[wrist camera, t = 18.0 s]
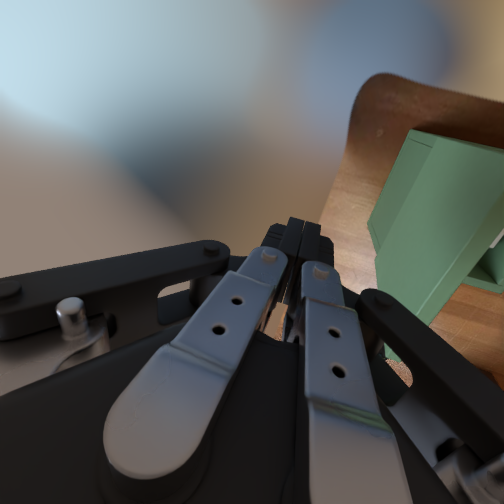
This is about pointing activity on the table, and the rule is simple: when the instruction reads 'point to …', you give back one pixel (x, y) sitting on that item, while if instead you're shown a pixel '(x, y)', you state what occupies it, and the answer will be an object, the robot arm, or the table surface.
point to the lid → (442, 227)
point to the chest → (396, 191)
